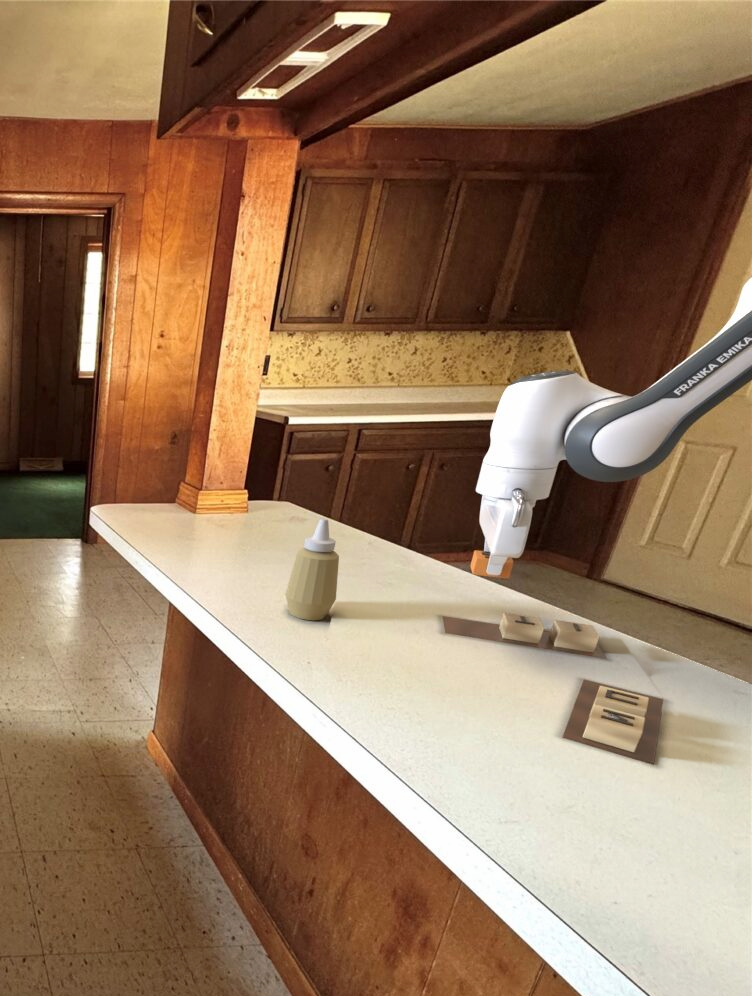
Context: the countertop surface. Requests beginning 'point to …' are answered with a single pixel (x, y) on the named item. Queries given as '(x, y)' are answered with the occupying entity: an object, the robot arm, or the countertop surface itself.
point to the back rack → (531, 633)
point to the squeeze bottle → (314, 576)
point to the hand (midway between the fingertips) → (490, 567)
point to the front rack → (615, 721)
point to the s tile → (481, 562)
